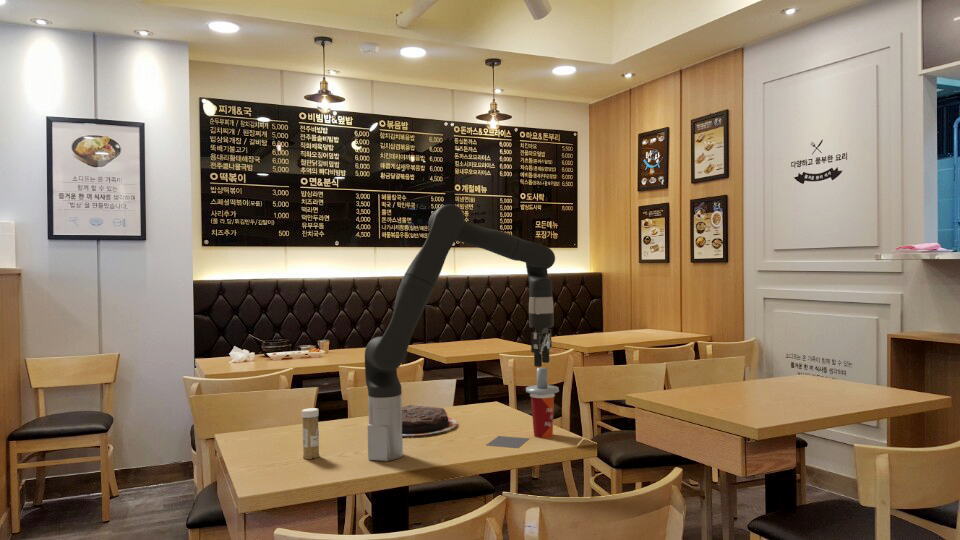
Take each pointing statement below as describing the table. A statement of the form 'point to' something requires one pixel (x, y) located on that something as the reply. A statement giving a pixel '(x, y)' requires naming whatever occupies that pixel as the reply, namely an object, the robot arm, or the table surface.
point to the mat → (507, 442)
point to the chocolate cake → (425, 421)
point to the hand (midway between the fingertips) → (542, 364)
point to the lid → (542, 384)
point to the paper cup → (542, 414)
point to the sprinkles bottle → (310, 433)
